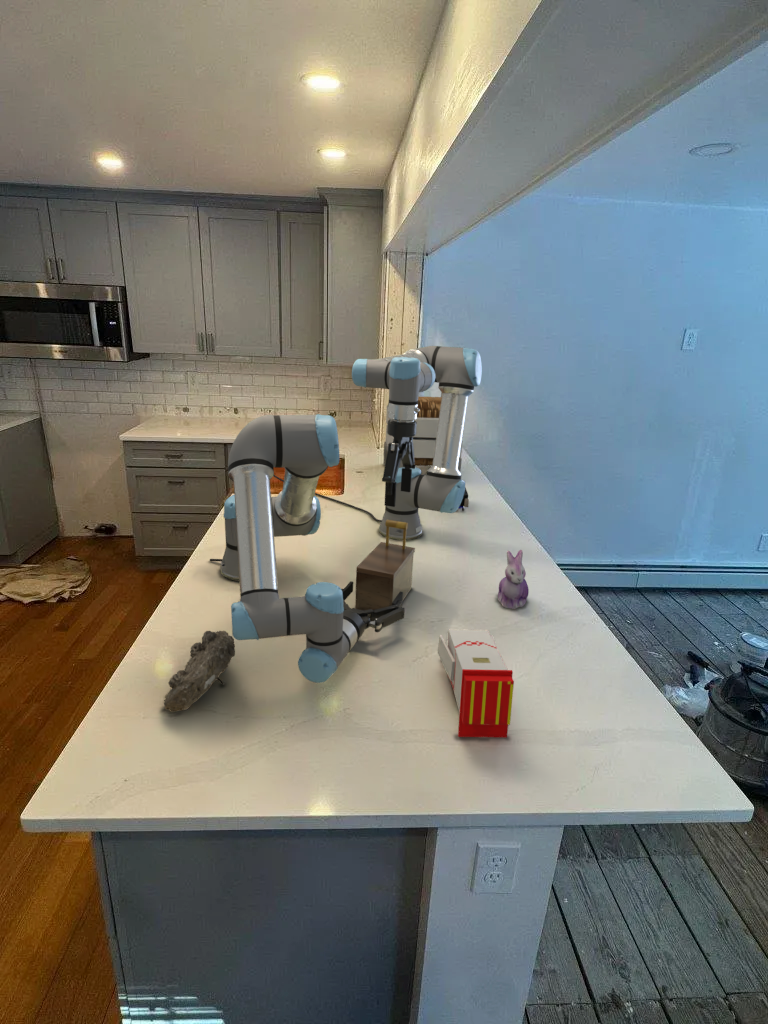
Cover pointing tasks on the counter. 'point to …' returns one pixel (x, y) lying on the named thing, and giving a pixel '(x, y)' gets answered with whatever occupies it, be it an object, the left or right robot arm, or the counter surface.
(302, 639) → the counter surface
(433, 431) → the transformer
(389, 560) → the lid
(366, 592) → the chest
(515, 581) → the figurine
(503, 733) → the toy
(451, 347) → the right robot arm
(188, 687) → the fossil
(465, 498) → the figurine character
